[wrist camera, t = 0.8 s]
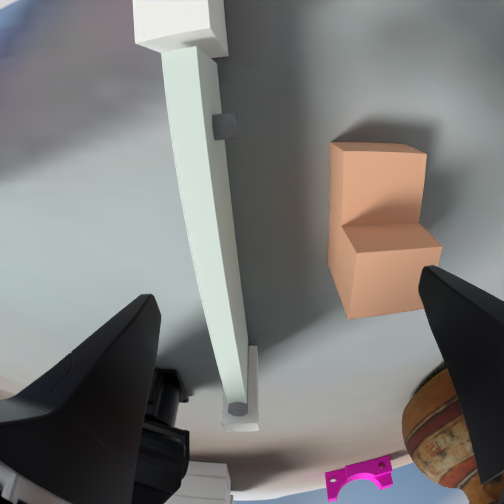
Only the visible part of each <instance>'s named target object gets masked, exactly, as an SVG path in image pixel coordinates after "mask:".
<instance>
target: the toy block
mask: <svg viewBox="0 0 504 504" xmlns="http://www.w3.org/2000/svg"><path fill="white" fill-rule="evenodd" d="M391 472H392V466H391V462H390V458H389V455H387V456H384V457H380V458H377V459H373V460H369V461H365V462H361V463H357V464H353V465H348V466H345V469H342V470H337V471H332V472H327V473H325V478H326V486H327V495H328V501H334V500H337V496H338V493H339V491H340V490H341V488H342V487H343V486H344V485H346V484H347V483H349V482H351V481H353V480H357V479H367V480H370V481H372V482H374V483H375V484H376V485H377V486H378V488H379V490H381V489H385V488H388V487H391V485H392V484H393V481H392V477H391ZM331 479H336V480H337V481H335V482H330V480H331Z"/></svg>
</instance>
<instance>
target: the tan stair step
mask: <svg viewBox="0 0 504 504" xmlns="http://www.w3.org/2000/svg"><path fill="white" fill-rule="evenodd" d="M426 159H427V154H426V153H424V152H421V151H419V150H417V149H415V148H413V147H410V146H408V145H406V144H395V143H370V142H330V218H329V243H328V261H327V264H328V267H329V269H330V272H331V275H332V277H333V280H334V283H335V285H336V288H337V291H338V294H339V296H340V299H341V302H342V305H343V307H344V310H345V313H346V316H347V319H355V318H364V317H371V316H379V315H386V314H393V313H400V312H407V311H413V310H419V309H424V307H423V304H422V301H421V298H420V295H419V292H418V285H419V281H420V276H421V272H422V269H423V267H424V266H429V265H435V266H437V267H438V264H439V260H440V256H441V252H442V248H443V246H442V245H441V244H440V243H439V242H438V241H437V240H436V239H435V238H434V237H433V236H432V235H431V234H430V233H429V232H428V231H427V230H426V229H425V228H424V227H423V226H422V225H421V224H420V223H419V218H420V211H421V204H422V197H423V189H424V180H425V170H426Z"/></svg>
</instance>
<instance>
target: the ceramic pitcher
mask: <svg viewBox="0 0 504 504" xmlns="http://www.w3.org/2000/svg"><path fill="white" fill-rule="evenodd" d="M468 432H469V431H468V430H467V426H466V423H465V419H464V416H463V413H462V410H461V407H460V403H459V400H458V397H457V394H456V392H455V389H454V386H453V383H452V380H451V378H450V375H449V372H448V370H447V368H446V369H445V370H443V371H441V372H440V373H439V374H437V375H436V376H435V377H433V378H432V379H431V380H430V381H428V382H427V383H426V384H425V385H424V386H423V387H422V388H421V389H420V390H419V391H418V392H417V393H416V394H415V395H414V397H413V398H412V399H411V400H410V401H409V403H408V404H407V406H406V408H405V410H404V412H403V417H402V433H403V438H404V443H405V446H406V449H407V451H408V453H409V455H410V457H411V458H412V460H413V462H414V463H415V464H416V466H417V467H418V468H419V469H420V470H421V471H422V473H424V474H425V475H426V476H427V477H428V478H429V479H431V480H432V481H434V482H436V483H438V484H440V485H442V486H444V487H448V488H459V489H461V490H463V491H464V493H465V494H466V496H467V498H468V500H469V504H497V503H498V501H499V499H500V496H501V494H502V492H503V489H504V472H503V473H502V474H500V475H498V476H497V477H495V478H493V479H491V480H490V481H488V482H486V483H484V484H482V485H481V483H480V479H479V475H478V470H477V465H476V461H475V457H474V453H473V449H472V445H471V441H470V437H469V434H468Z"/></svg>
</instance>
